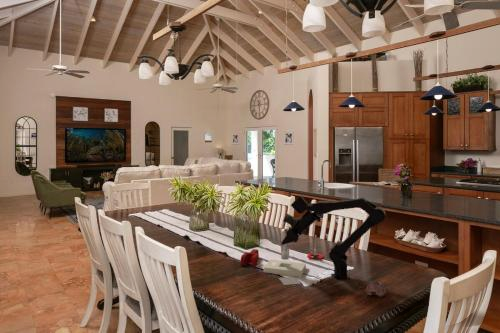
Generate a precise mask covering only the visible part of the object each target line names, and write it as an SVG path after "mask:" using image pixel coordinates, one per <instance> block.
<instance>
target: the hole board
mask: <svg viewBox="0 0 500 333" xmlns="http://www.w3.org/2000/svg"><path fill="white" fill-rule="evenodd" d="M306 269H307V263H305V262H297V261H296V262H295V261H289V260H288V261H287V260H278V259H272V258H271V259H269V260H268V262H267V263H265V265H264V266H263V273H267V274H276V275H283V276H289V277H298V276H299V277H300V278H301V277H302V276H303V275H304V272H305V271H306Z"/></svg>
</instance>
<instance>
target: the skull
mask: <svg viewBox="0 0 500 333" xmlns="http://www.w3.org/2000/svg"><path fill="white" fill-rule="evenodd" d="M364 291H365V293H366V294H367V295H369V296H372V295H376V296H378V297H383V296H385V295H386V294H387V292H388V291H386V288H385V285H384V283H382V282H380V281H374V280H373V281H372V280H371V281H368V283H367V284H366V289H364Z"/></svg>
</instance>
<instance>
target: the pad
mask: <svg viewBox="0 0 500 333" xmlns="http://www.w3.org/2000/svg"><path fill="white" fill-rule="evenodd" d="M278 279H279V281H280V282H281V283H282V284H283V285H284V286H286V285H287V286H288V285H299V284H302V282H301V281H300V280H299V278H297V276H287V277H285V276H284V277H278ZM298 280H299V281H298Z"/></svg>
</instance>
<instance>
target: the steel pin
mask: <svg viewBox="0 0 500 333" xmlns="http://www.w3.org/2000/svg"><path fill="white" fill-rule="evenodd" d="M288 229H289V228H281V229H280V234H281V235H280V237H281V238H280V249H281V250H280V251H281V252H280V259H281V260H282V261H287V260H288V261H289V259H290V243H287V244H284V245H282V244H281V242H282V241H283V240H284V238H285V237H286V236H287V234H286V231H287V230H288Z"/></svg>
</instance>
